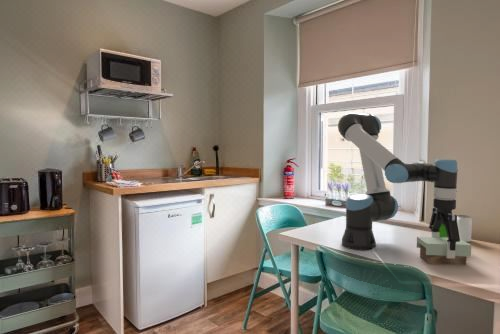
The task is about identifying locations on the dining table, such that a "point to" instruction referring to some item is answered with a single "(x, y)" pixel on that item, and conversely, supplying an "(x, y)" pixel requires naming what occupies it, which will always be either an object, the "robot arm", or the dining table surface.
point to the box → (441, 258)
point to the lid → (443, 246)
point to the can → (464, 227)
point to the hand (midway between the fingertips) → (442, 252)
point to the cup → (443, 231)
